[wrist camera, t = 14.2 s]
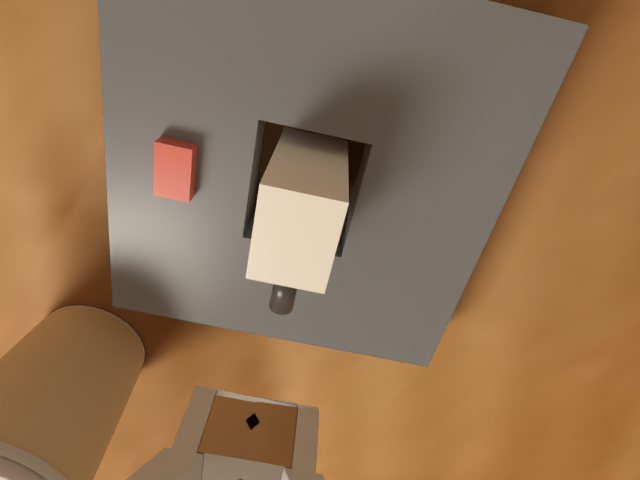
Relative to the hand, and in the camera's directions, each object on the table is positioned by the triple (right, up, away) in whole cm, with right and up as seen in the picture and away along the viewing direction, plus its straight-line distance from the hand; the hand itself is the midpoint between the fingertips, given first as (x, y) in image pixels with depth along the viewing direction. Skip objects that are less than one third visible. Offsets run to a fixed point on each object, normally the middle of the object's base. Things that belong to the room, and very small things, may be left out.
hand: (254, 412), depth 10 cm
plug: (+1, +7, +15) cm, 16 cm away
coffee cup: (-15, -4, +22) cm, 27 cm away
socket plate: (+1, +8, +14) cm, 16 cm away
